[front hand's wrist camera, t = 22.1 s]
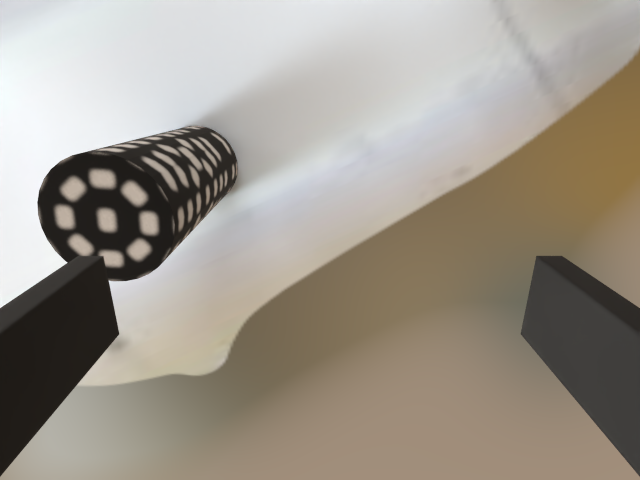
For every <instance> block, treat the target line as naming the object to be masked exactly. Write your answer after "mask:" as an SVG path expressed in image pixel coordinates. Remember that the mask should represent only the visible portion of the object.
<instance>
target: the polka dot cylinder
mask: <svg viewBox="0 0 640 480" xmlns="http://www.w3.org/2000/svg"><path fill="white" fill-rule="evenodd" d="M236 177H237V160H236V157H235V153H234V151H233V149H232V147H231V146H230V145H229V143H228V142H227V141H226V140H225V139H224V138H223V137H222V136H221V135H220V134H218V133H217V132H215V131H214V130H211V129H209V128H206V127H201V126H189V127H185V128H181V129H177V130H173V131H169V132H165V133H160V134H156V135H152V136H148V137H144V138H140V139H136V140H132V141H128V142H124V143H120V144H116V145H112V146H108V147H104V148H100V149H96V150H92V151H88V152H84V153H80V154H76V155H72V156H70V157H68V158H66V159H64V160H62V161H60V162H59V163H58V164H57V165H56V166H54V167H53V168H52V169H51V170H50V171H49V173H48V174H47V176H46V177H45V178H44V180H43V183H42V185H41V188H40V190H39V196H38V216H39V219H40V223H41V227H42V229H43V231H44V233H45V235H46V238H47V240H48V241H49V242H50V244H51V245H52V247H53V248H54V249H55V251H56V252H57V253H58V254H59V255H60V256H61V257H62V258H63V259H64V260H65V261H66V262H70V261H71V260H73V259H74V258H76V257H77V256H104V261H105V266H106V271H107V276H108V280H110V281H128V280H133V279H138V278H140V277H143V276H145V275H147V274H149V273H151V272H152V271H153V270H155V269H156V268H158V267H159V266H160V265H161V264H162V262H163V261H164V260H165V259H166V258H167V257H168V256H169V255H170V254H171V253H172V252H173V251H174V250H175V249H176V247H177V246H178V245H179V244H180V243H181V242H182V241H183V240H184V239H185V238H186V237H187V236H188V235H189V234H190V232H191V231H192V230H193V229H194V228H195V227H196V226H197V225H198V224H199V223H200V222H201V221H202V220H203V219H204V217H205V216H206V215H207V214H208V213H209V212H210V211H211V210H212V209H213V208H214V207H215V206H216V205H217V204H218V202H219V201H220V200H221V199H222V198H223V197H224V196H225V195H226V194H227V193H228V192H229V191H230V189H231V188H232V186H233V185H234V183H235V180H236Z"/></svg>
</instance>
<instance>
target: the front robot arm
mask: <svg viewBox="0 0 640 480" xmlns="http://www.w3.org/2000/svg"><path fill="white" fill-rule="evenodd" d="M118 335H119V330H118V326H117V321H116V316H115V311H114V306H113V301H112V296H111V291H110V286H109V281H108V276H107V271H106V266H105V261H104V256H77V257H76V258H74V259H73V260H71V261H70V262H68V263H67V264H66V265H64V266H63V267H61V268H60V269H58V270H57V271H55V272H54V273H52V274H51V275H49V276H48V277H46V278H45V279H43V280H42V281H40V282H39V283H37V284H36V285H34V286H33V287H31V288H30V289H28V290H27V291H25V292H24V293H22V294H21V295H19V296H18V297H16V298H15V299H13V300H12V301H10V302H9V303H7V304H6V305H4V306H3V307H1V308H0V476H1V475H2V474H3V472H4V471H5V470H6V469H7V468H8V466H9V465H10V464H11V463H12V462H13V460H14V459H15V458H16V457H17V456H18V455H19V453H20V452H21V451H22V450H23V449H24V447H25V446H26V445H27V444H28V443H29V441H30V440H31V439H32V438H33V437H34V435H35V434H36V433H37V432H38V431H39V429H40V428H41V427H42V426H43V425H44V423H45V422H46V421H47V420H48V419H49V417H50V416H51V415H52V414H53V413H54V411H55V410H56V409H57V408H58V407H59V405H60V404H61V403H62V402H63V401H64V399H65V398H66V397H67V396H68V395H69V393H70V392H71V391H72V390H73V389H74V388H75V386H76V385H77V384H78V383H79V382H80V380H81V379H82V378H83V377H84V376H85V374H86V373H87V372H88V371H89V370H90V368H91V367H92V366H93V365H94V364H95V362H96V361H97V360H98V359H99V358H100V356H101V355H102V354H103V353H104V352H105V350H106V349H107V348H108V347H109V346H110V344H111V343H112V342H113V341H114V340H115V338H116V337H117V336H118ZM521 335H522V336H523V337H524V338H525V340H526V341H527V342H528V343H529V344H530V346H531V347H532V348H533V349H534V350H535V352H536V353H537V354H538V355H539V356H540V358H541V359H542V360H543V361H544V362H545V364H546V365H547V366H548V367H549V368H550V370H551V371H552V372H553V373H554V374H555V376H556V377H557V378H558V379H559V380H560V382H561V383H562V384H563V385H564V386H565V388H566V389H567V390H568V391H569V392H570V394H571V395H572V396H573V397H574V398H575V400H576V401H577V402H578V403H579V404H580V405H581V407H582V408H583V409H584V410H585V411H586V413H587V414H588V415H589V416H590V417H591V419H592V420H593V421H594V422H595V423H596V425H597V426H598V427H599V428H600V429H601V431H602V432H603V433H604V434H605V435H606V437H607V438H608V439H609V440H610V441H611V443H612V444H613V445H614V446H615V447H616V449H617V450H618V451H619V452H620V453H621V455H622V456H623V457H624V458H625V459H626V460H627V462H628V463H629V464H630V465H631V466H632V468H633V469H634V470H635V471H636V472H637V474H638V475H639V476H640V308H639V307H637V306H636V305H634V304H633V303H631V302H630V301H628V300H627V299H625V298H624V297H622V296H621V295H619V294H618V293H616V292H615V291H613V290H612V289H610V288H609V287H607V286H606V285H604V284H603V283H601V282H600V281H598V280H597V279H595V278H594V277H592V276H591V275H589V274H588V273H586V272H585V271H583V270H582V269H580V268H579V267H577V266H576V265H574V264H573V263H572V262H570V261H569V260H567V259H566V258H564V257H562V256H536V261H535V266H534V271H533V276H532V281H531V286H530V291H529V296H528V301H527V306H526V311H525V316H524V321H523V326H522V330H521Z"/></svg>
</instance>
